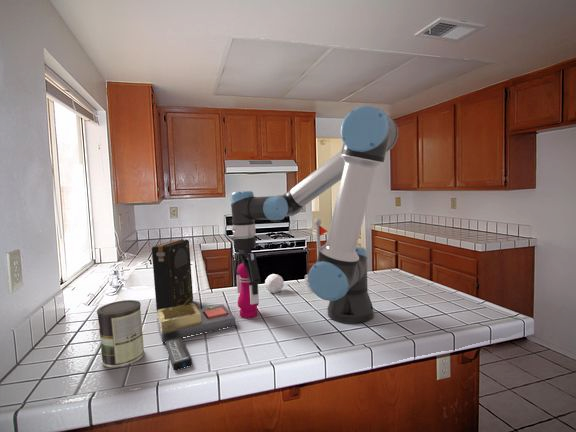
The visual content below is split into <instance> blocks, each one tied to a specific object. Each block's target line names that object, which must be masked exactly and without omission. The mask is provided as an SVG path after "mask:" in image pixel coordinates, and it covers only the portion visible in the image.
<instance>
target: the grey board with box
mask: <svg viewBox="0 0 576 432" xmlns="http://www.w3.org/2000/svg"><path fill="white" fill-rule="evenodd" d="M221 307H222V308H223V309H224V310H225V311H226V312H227V315H224V316H220V317H215V318H211V319H207V318H206V317H205V314H204V311H206V310H211V309H216V308H221ZM156 322H157V329H159V330H158V332H160V333H159V336H161V337H160V339H161V340H162V341H161V343H162V342H166V341H168V340H172V339H176V338H180V337H182V338H183V337H187V336H191V335H196V334H200V333H205V332H210V331H215V330H219V329H223V328H227V327H232V326H236V317H235V316H234V315H233V313H232V312H231V311H230V310H229V309H228V308H227V307H226V305H224V304H219V305H210V306H208V307H204V308H199V309H198V307H197V306H196V304H195V303H193V302H190V303H189V304H186V305H181V306H175V307H170V308H165V309H160V310H158V312H157V317H156ZM232 328H233V327H232ZM227 329H228V328H227ZM223 330H224V329H223ZM219 331H220V330H219ZM215 332H216V331H215ZM210 333H211V332H210Z"/></svg>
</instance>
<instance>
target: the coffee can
mask: <svg viewBox="0 0 576 432" xmlns="http://www.w3.org/2000/svg"><path fill="white" fill-rule="evenodd" d="M141 305H142V304H141V302H140V301H139V300H135V299H134V300H133V299H129V300H127V299H126V300H125V299H124V300H120V301H119V300H118V301H115V302H111V303H107V304H104V305H103V306H100V307H99V308H98V309H97V310H96V314H97V319H98V320H97V322H98V330H99V341H100V348H101V349H100V351H101V360H102V361H101V363H102V365H103V366H104V367H106V368H121V367H126V366H129V365H131V364H134V363H136V362H138V361H139V360H141V359H142V358H143V357H144V355H145V349H144V345H145V344H144V335H143V334H144V333H143V324H142V310H141ZM125 365H126V366H125Z"/></svg>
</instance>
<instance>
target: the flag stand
mask: <svg viewBox="0 0 576 432" xmlns="http://www.w3.org/2000/svg"><path fill="white" fill-rule="evenodd" d="M313 223H314V225H315V229H316V230H315V232H316V235H315V236H316V255H317V257H316V259H317V258H318V254H319V249H320V247H322V246H321V236H322V235H323V234H326V233H327V232H328V230H327V229H326V228H324V227H322V226H321V224H322V220H321V218H318V217H317V218H315V219H314V221H313ZM304 284H305V285H306V289H307V291H308V292H311V293H314V292H313V290H312V288H311V287H310V285H309V282H308V274H305V275H304Z"/></svg>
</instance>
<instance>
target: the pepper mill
mask: <svg viewBox="0 0 576 432" xmlns="http://www.w3.org/2000/svg"><path fill="white" fill-rule="evenodd" d="M238 274H239V275H240V277H239V278H240V282H241V292H240V293H239V295H238V297H237V298H238V299H237V307H238V308H239V317H240V316H241V317H240V318H242V319H252V318H255V317H257V316H258V314H259V310H258V309H259V308H257V307H258V306H259V304H260V302H259V303H257V304H252V305H251V304H250V286H249V283H250V280H249V277H248V273H247V270H246V267H244V265H243V263H241V264H240V265H239V266H238Z"/></svg>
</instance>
